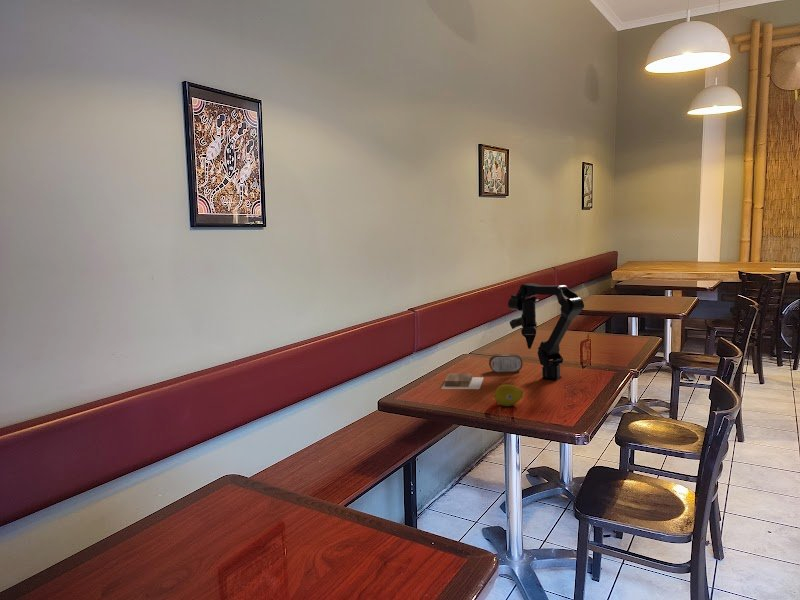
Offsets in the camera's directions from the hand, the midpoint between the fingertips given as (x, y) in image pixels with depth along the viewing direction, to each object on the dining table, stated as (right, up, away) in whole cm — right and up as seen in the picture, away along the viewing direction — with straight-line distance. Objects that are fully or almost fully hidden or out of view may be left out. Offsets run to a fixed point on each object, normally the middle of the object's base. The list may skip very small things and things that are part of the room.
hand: (529, 346), depth 256 cm
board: (-28, -14, -11) cm, 33 cm away
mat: (-31, -15, -10) cm, 36 cm away
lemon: (-17, -19, -43) cm, 50 cm away
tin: (-10, -12, +5) cm, 16 cm away
